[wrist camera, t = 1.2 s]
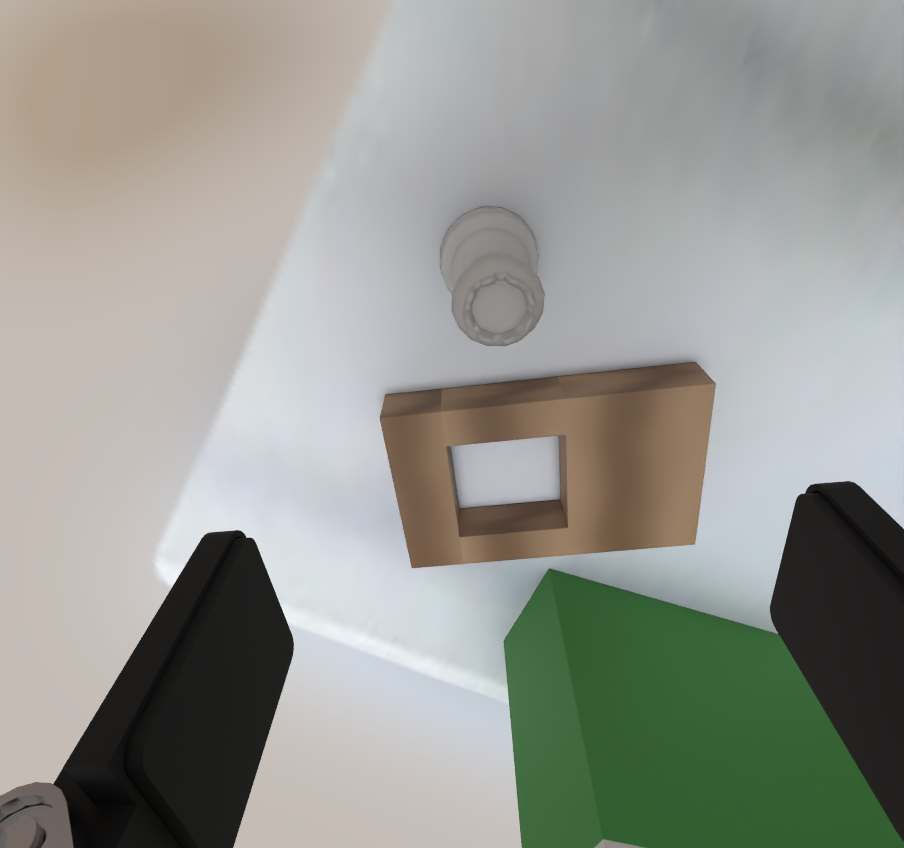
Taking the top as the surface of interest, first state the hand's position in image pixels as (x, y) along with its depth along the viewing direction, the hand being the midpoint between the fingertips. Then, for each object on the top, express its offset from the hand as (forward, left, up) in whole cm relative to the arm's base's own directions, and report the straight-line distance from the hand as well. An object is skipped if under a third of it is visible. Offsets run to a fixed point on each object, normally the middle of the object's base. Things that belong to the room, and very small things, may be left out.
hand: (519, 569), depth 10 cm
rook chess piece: (0, -1, -19) cm, 19 cm away
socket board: (-2, +10, -19) cm, 21 cm away
